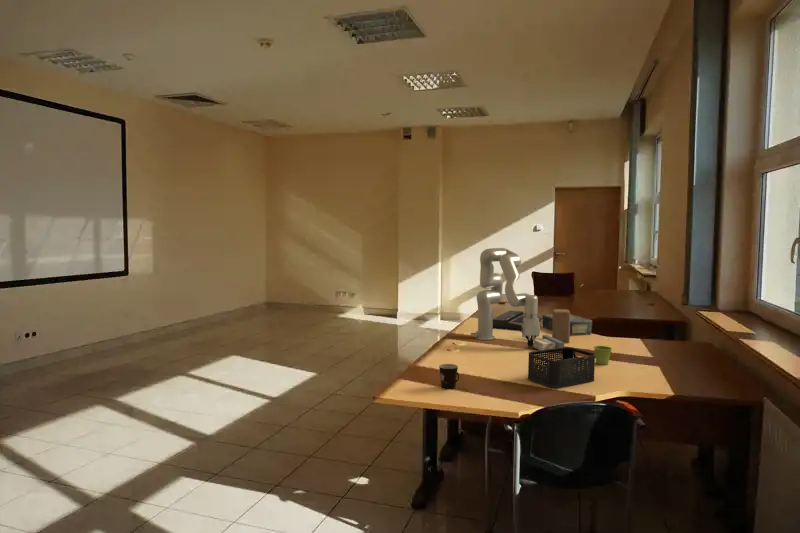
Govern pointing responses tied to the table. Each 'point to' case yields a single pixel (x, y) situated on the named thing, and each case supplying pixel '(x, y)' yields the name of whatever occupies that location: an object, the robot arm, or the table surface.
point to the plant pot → (602, 354)
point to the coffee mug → (448, 375)
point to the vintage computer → (510, 320)
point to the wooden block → (561, 325)
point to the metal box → (571, 324)
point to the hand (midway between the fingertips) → (530, 346)
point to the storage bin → (561, 367)
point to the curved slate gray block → (558, 343)
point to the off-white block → (544, 344)
